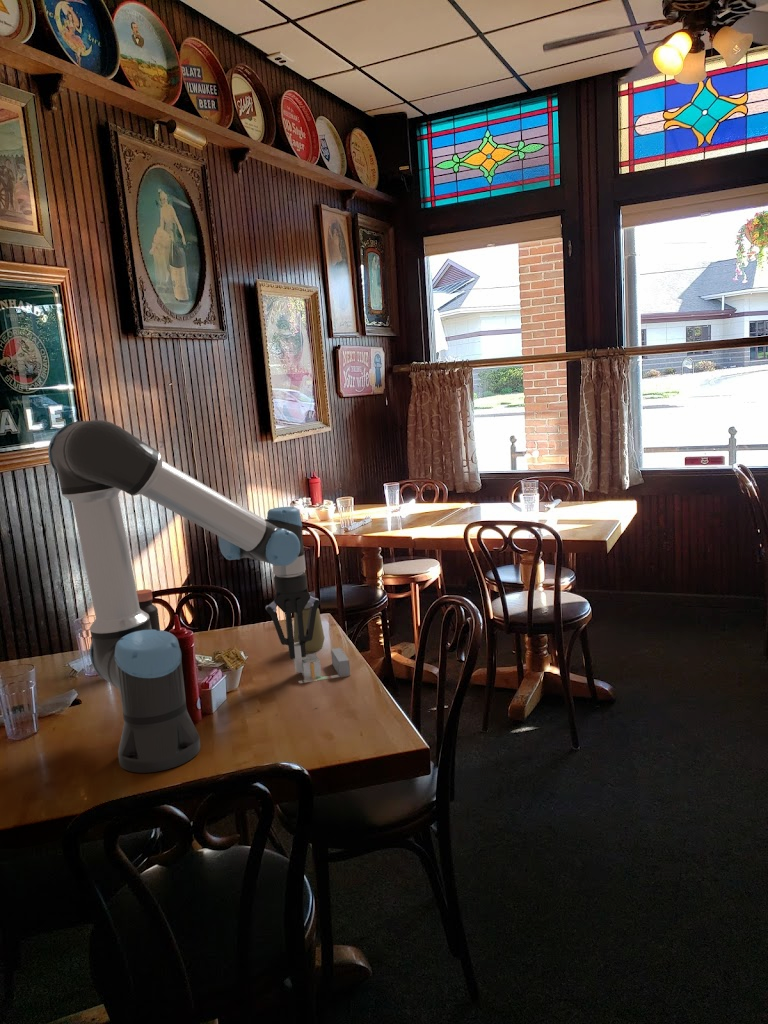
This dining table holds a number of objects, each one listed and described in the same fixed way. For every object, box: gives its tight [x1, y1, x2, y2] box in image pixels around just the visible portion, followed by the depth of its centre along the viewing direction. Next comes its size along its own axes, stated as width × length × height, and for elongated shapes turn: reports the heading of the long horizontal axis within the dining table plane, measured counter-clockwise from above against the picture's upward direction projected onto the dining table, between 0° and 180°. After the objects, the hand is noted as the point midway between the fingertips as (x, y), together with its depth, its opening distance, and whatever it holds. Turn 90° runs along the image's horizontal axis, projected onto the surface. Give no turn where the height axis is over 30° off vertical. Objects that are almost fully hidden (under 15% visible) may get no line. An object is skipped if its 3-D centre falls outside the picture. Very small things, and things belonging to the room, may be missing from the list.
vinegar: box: [136, 588, 161, 631], centre depth 199 cm, size 7×7×20 cm
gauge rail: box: [298, 647, 351, 684], centre depth 181 cm, size 10×15×5 cm, turn 105°
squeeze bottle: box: [293, 601, 325, 653], centre depth 200 cm, size 8×8×18 cm
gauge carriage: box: [300, 652, 322, 680], centre depth 180 cm, size 7×4×4 cm, turn 15°
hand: (299, 670), depth 180 cm, fingers closed
